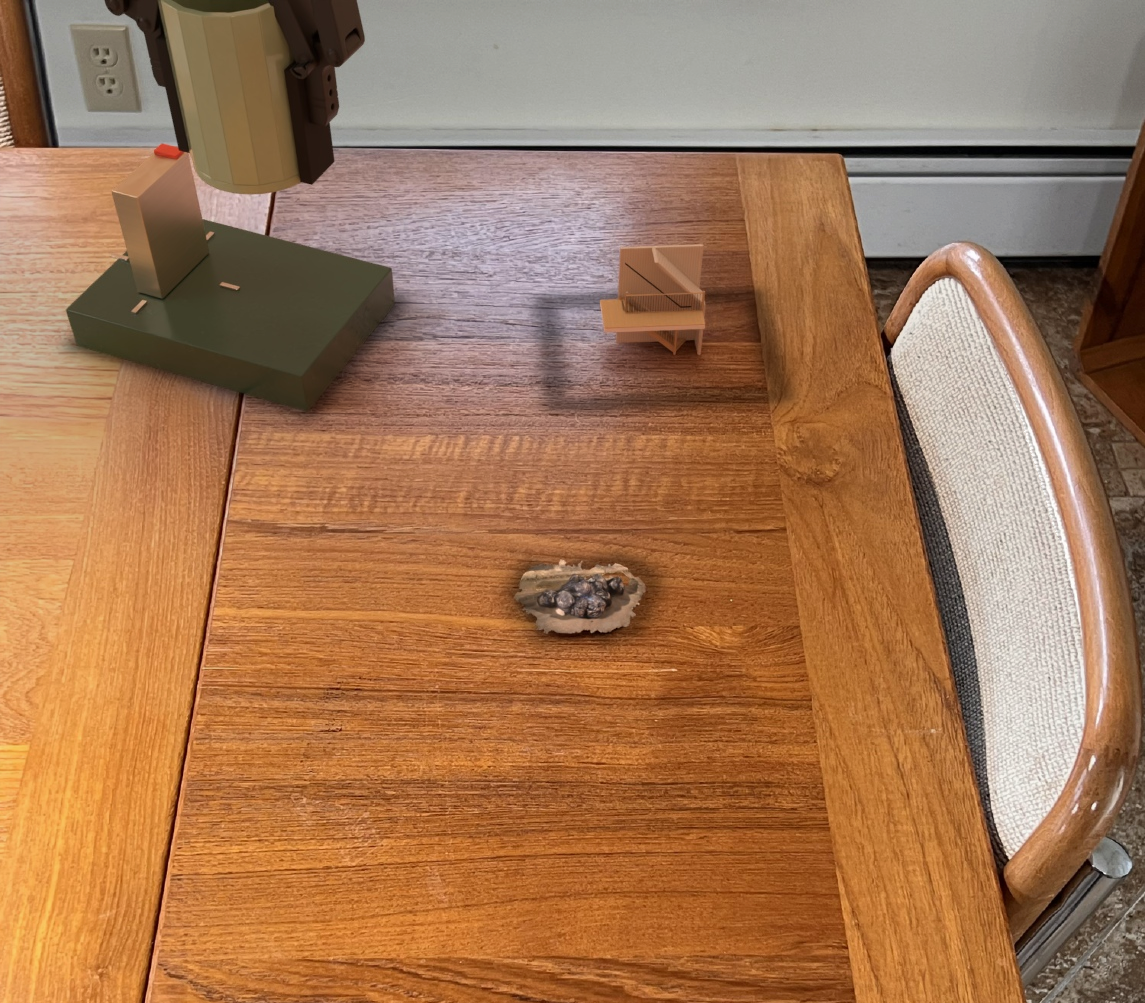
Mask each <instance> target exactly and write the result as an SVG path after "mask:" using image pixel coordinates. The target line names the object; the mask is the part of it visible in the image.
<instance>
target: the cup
mask: <svg viewBox="0 0 1145 1003" xmlns="http://www.w3.org/2000/svg"><path fill="white" fill-rule="evenodd" d="M158 4H159V9H160V14H161V19H162V23H163V28H164V33H165V38H166V42H167V47H168V52H169V57H170V61H171V66H172V71H173V75H174V80H175V85H176V90H177V94H178V99H179V104H180V109H181V113H182V118H183V123H184V128H185V132H186V137H187V142H188V147H189V151H190V153H189V157H190V158H191V160H192V165H193V169H194V172H195V174H196V175H197V176H198V178H199V179H200V180H201V181H202V182H204V183H205V184H206V185H208V186H210V187H212V188H214V189H216V190H219V191H223V192H226V193H232V194H237V195H265V194H271V193H272V194H273V193H276V192H281V191H283V190H287V189H290V188H292V187H294V186H297V185H299V184H300V183H302V182H300V175H299V168H298V162H297V155H296V148H295V141H294V134H293V128H292V121H291V114H290V107H289V100H288V94H287V87H286V80H285V73H284V70H285V69H286V68H287V67H288V66H289V65H290V64H291V63H292V62H294V61H295V59H294V57H293V54H292V52H291V50H290V48H289V46H288V43H287V41H286V39H285V37H284V35H283V32H282V30H281V28H280V26H279V24H278V21H277V19H276V17H275V13H274V7H273V6H271V5H270V4H269V2H268V0H158Z"/></svg>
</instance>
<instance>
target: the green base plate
mask: <svg viewBox="0 0 1145 1003" xmlns="http://www.w3.org/2000/svg"><path fill="white" fill-rule="evenodd" d="M202 220H203V224H204V229H205V234H206V239H207V243H208V248H209V253H208V254H207V255H206V256H205V257H204V258H203V259H202V260H201V261H200V262H199V263H198V264H197V265H196V266H195V267H194V268H193V269H192V270H191V271H190V272H189V273H188V274H187V275H186V276H185V277H184V278H183V279H182V280H181V281H180V282H179V283H178V284H177V285H176V286H175V287H174V288H173V289H172V290H171V291H170V292H169V293H168V294H167V295H166V296H165V297H164V298H163V299H161V298H157V297H154V296H150V295H147V294H143V293H140V292H138V290H137V287H136V283H135V279H134V275H133V271H132V268H131V264H130V260H129V256H128V253H127V250H126V251H124V253H123V254H120V253H115V252H111V253H109V255H108V256H109V258H112V259H116V260H115V261H114V262H113V263H112V264H111V265H110V266H109V267H108V268H107V269H106V270H105V271H104V272H102V274H101V275H100V276H98V278H97V279H96V280H95V281H93V282H92V284H90V285H89V287H87V289H85V290H84V291H83V292H82V293H81V294H80V295H79V296H78V297H77V298H75V300H74V301H73V302H72V303H70V305H68V306H67V307H66V309H65V313H66V316H67V319H68V323H69V325H70V328H71V331H72V335H73V338H74V340H75V344H76V346H77V347H80V348H83V349H87V350H91V351H93V352H98V353H100V354H105V355H107V356H108V355H109V356H111V357H115V358H118V359H122V360H125V361H129V362H132V363H136V364H140V365H143V366H146V367H150V368H153V369H156V370H160V371H164V372H168V373H171V374H174V375H178V376H181V377H185V378H188V379H192V380H196V381H199V382H202V383H204V384H205V383H206V384H209V385H212V386H216V387H219V388H222V389H226V390H231V391H234V392H237V393H241V394H244V395H248V396H251V397H254V398H258V399H261V400H265V401H268V402H272V403H275V404H279V405H282V406H286V407H289V408H293V409H295V410H298V411H299V410H300V411H302V412H307V413H308V412H309V411H310V410H311V409H312V408H313V407H314V405H316V403H317V402H318V400H319V399H320V398H321V397H322V396H323V394H324V393H325V392H326V390H327V389H328V388H329V386H331V384H332V383H333V382H334V381H335V379H336V378H337V377H338V376H339V374H340V373H341V372H342V371H343V369H344V368H345V367H346V365H347V364H348V363H349V362H350V360H351V359H352V358H353V357H354V356H355V354H356V353H357V352H358V351H359V349H360V348H361V347H362V346H363V344H364V343H365V342H366V341H367V339H368V338H369V337H370V336H371V335H372V333H373V332H374V331H375V330H376V329H377V327H378V326H379V324H380V323H381V322H382V321H383V320H384V319H385V317H386V316H387V314H389V312H390V311H391V310H392V309H393V307H394V306H395V305H396V297H395V289H394V277H393V269H392V267H389V266H386V265H382V264H378V263H374V262H370V261H367V260H364V259H358V258H356V257H352V256H347V255H343V254H339V253H335V252H332V251H328V250H324V249H320V248H316V247H312V246H308V245H306V244H305V245H304V244H301V243H297V242H293V241H289V240H286V239H282V238H281V239H280V238H277V237H274V236H270V235H266V234H262V233H258V232H255V231H251V230H247V229H243V228H239V227H235V226H232V225H228V224H223V223H219V222H216V221H213V220H208V219H204V218H202Z"/></svg>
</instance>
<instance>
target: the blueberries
mask: <svg viewBox="0 0 1145 1003" xmlns="http://www.w3.org/2000/svg"><path fill="white" fill-rule="evenodd" d="M583 562H584V560H581V561H580V562H579V563H577V566H576V565H575V564H572V565H573V566H571V565H569V564H568V565H566V564H567V562H566V560H565V559H559V562H558V564H554V563H551V564H544V563H539V564H538V565H530V567H531V568H528V569H527V570H526V571H525V572H523V574H522V576H521V578H520V581H519V583H518V586H519V587H518V589H519V590H521V591H517V592H516V593H514V596H513V599H514V600H516V602H517V603H520V604H522V605H523V608H521V609H522V611H525V613H526V614H527V615H530V614H532V616H535V618H536V620H535V624H534V626H536V627H537V628H536V631H542V630H544V631H543V634H549V632H551V631H552V632H553V631H554V632H555V633H556V634H559V633H560V634H575V633H577V634H578V633H582V632H583V631H589V632H590V633H591V634H593V633H595V632H596V631H598V632H600V633H608V632H609V633H611V632H612V631H613V630H615V629H616V628H617V629H620V628H622V627H623V628H627V627H629V626H630V625H631V617H632V618H634V617H636V616H637V614H636V613H635V612H634V611H633V610H634V608H636V607H637V606H640V605H641V603H640V602H639V601H641V600H642V598H643V594H645V593H646V592H647V591H646V590H647V589H646V588H647V586H646V583H645V582H643V580H642V579H641V578H640V577H639V576H634V575H633V573H632V572H630V571H629V568H628V567H627V566H624V565H622V564H619V563H616V562H615V563H614V564H612V565H611V563H608V565H601V564H598V563H597V564H595V565H594V567H592V568H590V569H585V568H582V564H583ZM614 573H622V574H624V575H625V576H626V577H627V578H629V582H628V584H627V585H625V584H624V581H623V579H622V577H621V576H614V575H613V576H612V575H609V574H614ZM606 574H608V577H604V575H606ZM587 577H589V578H587Z"/></svg>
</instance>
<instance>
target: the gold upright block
mask: <svg viewBox="0 0 1145 1003" xmlns="http://www.w3.org/2000/svg"><path fill="white" fill-rule="evenodd" d="M192 168H193V167H192V164H191V159H190V153H187V152H183V151H179V149H178V146H174V145H170V144H166V143H162V142H161V143H160V144H159V145H158V146H157V147H156V148H155V149H154V150H153V153H152V154H151V155H149V156H148V157H147V158H146V159H145V160H144V161H143V162H142V163H141V164H139V165H138V166H136V168H135V169H134V170H132V171H131V172H130V173H129V174H128V175H127V176H126V177H125V178H123V179H122V180H121V181H120V182H118V184H117V185H115V187H113V188H112V189H111V196H112V199H113V203H114V207H115V211H116V214H117V218H118V223H119V226H120V230H121V233H122V236H123V241H124V244H125V248H126V251H127V253H128V256H129V260H130V264H131V268H132V271H133V275H134V279H135V283H136V287H137V290H138V292H140V293H143V294H147V295H150V296H154V297H157V298H161V299H163V298H164V297H165V296H166V295H167V294H168V293H169V292H170V291H171V290H172V289H173V288H174V287H175V286H176V285H177V284H178V283H179V282H180V281H181V280H182V279H183V278H184V277H185V276H186V275H187V274H188V273H189V272H190V271H191V270H192V269H193V268H194V267H195V266H196V265H197V264H198V263H199V262H200V261H201V260H202V259H203V258H204V257H205V256H206V255H207V254H208V253H209V248H208V243H207V239H206V234H205V229H204V224H203V220H202V219H203V216H202V211H201V207H200V200H199V196H198V192H197V187H196V182H195V178H194V173H193V169H192Z"/></svg>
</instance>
